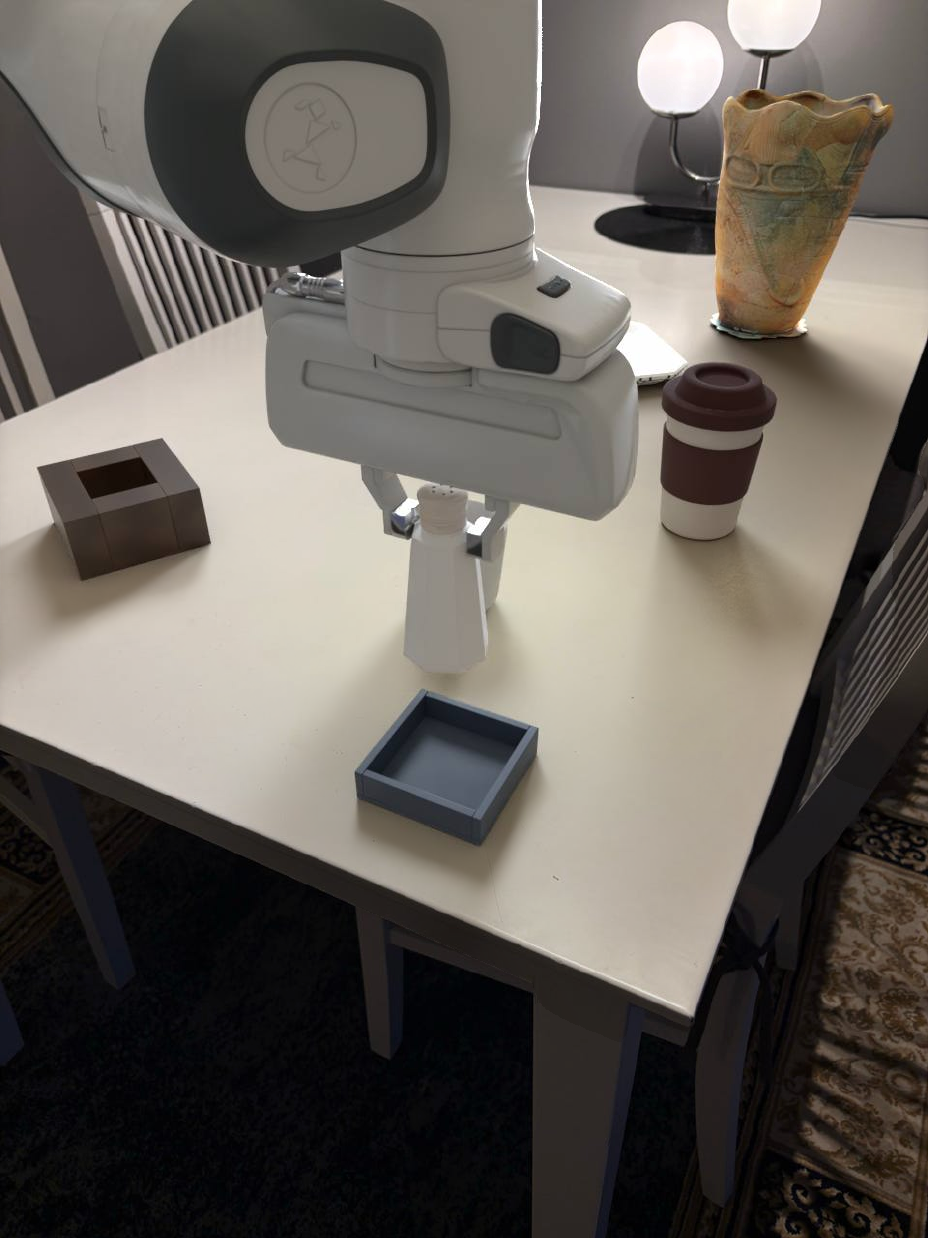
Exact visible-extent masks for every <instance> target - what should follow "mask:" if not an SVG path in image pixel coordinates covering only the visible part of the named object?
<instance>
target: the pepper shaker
mask: <svg viewBox="0 0 928 1238" xmlns="http://www.w3.org/2000/svg"><path fill="white" fill-rule="evenodd" d="M469 492H470V491H466V490H462V489H458V488H454V487H450V486H446V485H442V484H437V483H433V482H429V481H427V482H426V483H424V484H422V485H421V486H420V487H419V489H418V490H417V492H416V498H417V501H418V502H419V516H420V521H419V522H416V523H415V526H414V529H413V533H412V538H411V539H410V546H409V547H410V549H409V560H408V576H407V577H408V578H407V593H406V594H407V595H406V607H405V608H406V609H405V622H404V623H405V624H404V639H403V651H402V652H403V654H402V655H403V656H404V657H406V658H407V659H408V660H409V661H410V662H412V663H413V664H415V666H417V667H418V668H419V669H420V670H421V671H422V672H424V673H428V674H444V675H461V674H462V673H464V672H466V671H468V670H469V669H471V668H473V667H475V666H477V665H479V664H481V663H482V662H484V661H486V659H487V654H488V653H487V652H488V646H489V645H488V644H489V631H488V623H487V622H488V621H487V613H486V612H487V611H485V604H484V595H483V586H482V577H481V568H480V560H479V559H476V558H473V557H469V556H467V553H466V549H467V548H468V547H469V546H468V544H467V542H466V532H467V531H468V530H469V529H470V528H471V527H472V526H475V525H473V524H472V523H470V522H468V521H467V519H466V517H467V501H468V499H469V495H470V494H469Z"/></svg>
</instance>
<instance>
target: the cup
mask: <svg viewBox="0 0 928 1238" xmlns="http://www.w3.org/2000/svg"><path fill="white" fill-rule="evenodd" d="M494 514H495V511H494V512H491V511H487V510H486V509H485V501H481V500H477V499H472V498H471V499H470V498H468V501H467V517H466V519H467V521H468V522H470V523H472V524H473V525H475V522H476V521H477V520H478V519H479V518H480V517H483V518H487V519H491V518H492V517H493V515H494ZM418 515H419V514H418ZM419 517H420V516H419ZM508 527H509V525H508V522H507V523H506V524H505V525H504V546H503V549H502V552H501V554H500V555H499V556H498V557H497V559H496V560H495V561H494V562H493V563H490V562H486V561H483V560H480V559H479V560H480V568H481V577H482V586H483V595H484V604H485V612H487V611H488V610H489V609H490V608H491V607H492V606H493V604H494V603H495V601H496V599H497V596H498V593H499V590H500V584H501V577H502V571H503V570H502V569H503V564H504V563H503V562H504V558H505V550H506V543H507V542H506V541H507V535H508Z"/></svg>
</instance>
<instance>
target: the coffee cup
mask: <svg viewBox="0 0 928 1238" xmlns="http://www.w3.org/2000/svg"><path fill="white" fill-rule="evenodd" d="M660 402H661V404H660V405H661V408H662V410H663V412H664V413H665V414H666V420H665V422H664V424H663V429H662V430H663V431H662V446H661V460H660V476H659V481H660V485H661V496H660V510H659V516H660V518H659V519H660V520H661V523H662V525H664V527H665V528H666V529H667V530H668V531H670V532H671V533H674V534H676V535H678V536H680V537H683V538H686V539H692V540H700V541H709V540H710V541H711V540H716V539H721V538H723V537H726V536H728V535H729V534H730V533H731V532H733V530H735V527H736V525H737V522H738V519H739V515H740V511H741V508H742V505H743V501H744V499H745V496H746V495H747V493H748V491H749V488H750V485H751V481H752V478H753V475H754V471H755V468H756V464H757V461H758V458H759V454H760V451H761V447H762V444H763V440H764V432H763V431H764V428H765V425H767V424H769V423H770V422H771V421H772V420H773V419H774V416H775V413H776V409H777V403H778V397H777V395H776V393H775V391H773V389H772V388H770V387H769V386H768V385H766V384H765V383H763V379H762V376H761V375H760V374H759V373H758V372H756V371H755V370H753V369H751V368H749V367H746V366H743V365H740V364H737V363H730V362H721V361H709V362H700V363H695V364H693V365H691V366H689V367H686V368H685V369H684V370H683V373H682V374H680V375H677V376H676V377H673V378H670V379H669V380H668V381H667V382H666V383H665V384H664V386H663V388H662V395H661V401H660Z"/></svg>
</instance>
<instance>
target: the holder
mask: <svg viewBox="0 0 928 1238" xmlns="http://www.w3.org/2000/svg"><path fill="white" fill-rule="evenodd" d="M36 469H37V473H38V476H39V479H40V482H41V485H42V488H43V491H44V495H45V499H46V501H47V505H48V507H49V510H50V511H49V512H50V513H51V517H52V520H53V523H54V524H55V527H56V529H57V532H58V533H59V535H60V537H61V541H62V542H63V544H64V546H65V549H66V551H67V554H68V555H69V557H70V559H71V562H72V564H73V566H74V569H75V571H76V573H77V575H78V577H79V579H80V581H85V580H88V579H92V578H94V577H98V576H102V575H105V574H109V573H112V572H115V571H119V570H123V569H126V568H130V567H134V566H137V565H139V564H140V565H141V564H144V563H148V562H151V561H153V560H157V559H162V558H164V557H165V558H166V557H168V556H171V555H175V554H178V553H182V552H185V551H189V550H193V549H196V548H200V547H204V546H206V545H210V544H211V543H212V541H211V536H210V531H209V527H208V522H207V517H206V513H205V511H206V510H205V506H204V502H203V496H202V492H201V488H200V486H199V485H198V484H197V482H196V481H195V479H194V478H193V477H192V475H191V474H190V473H189V472H188V470H187V469H186V467H185V466H184V465H183V463H182V462H181V461H180V460H179V458H178V457H177V455H176V454H175V453H174V451H173V450H172V449H171V448H170V446H169V445H168V444H167V442H166V441H165V440H164V438H163V437H161V438H156V439H155V438H154V439H151V440H147V441H144V442H139V443H134V444H130V445H126V446H122V447H117V448H113V449H109V450H104V451H99V452H96V453H92V454H87V455H83V456H79V457H74V458H71V459H70V458H69V459H65V460H62V461H57V462H52V463H48V464H45V465H44V464H43V465H40V466H36Z"/></svg>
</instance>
